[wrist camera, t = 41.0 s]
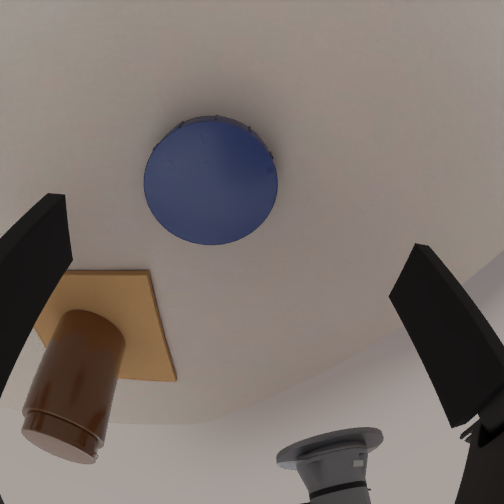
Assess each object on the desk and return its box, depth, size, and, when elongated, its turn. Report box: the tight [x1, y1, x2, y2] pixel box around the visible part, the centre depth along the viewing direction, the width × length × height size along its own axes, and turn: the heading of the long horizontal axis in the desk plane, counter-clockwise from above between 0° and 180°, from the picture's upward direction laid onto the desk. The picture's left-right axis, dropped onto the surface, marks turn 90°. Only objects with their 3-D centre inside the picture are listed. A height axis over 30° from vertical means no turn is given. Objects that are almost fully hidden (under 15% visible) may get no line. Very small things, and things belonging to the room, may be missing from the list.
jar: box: [21, 310, 126, 464], centre depth 20 cm, size 7×7×12 cm
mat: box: [34, 271, 177, 382], centre depth 25 cm, size 14×14×1 cm
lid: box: [144, 115, 278, 245], centre depth 18 cm, size 8×8×2 cm
